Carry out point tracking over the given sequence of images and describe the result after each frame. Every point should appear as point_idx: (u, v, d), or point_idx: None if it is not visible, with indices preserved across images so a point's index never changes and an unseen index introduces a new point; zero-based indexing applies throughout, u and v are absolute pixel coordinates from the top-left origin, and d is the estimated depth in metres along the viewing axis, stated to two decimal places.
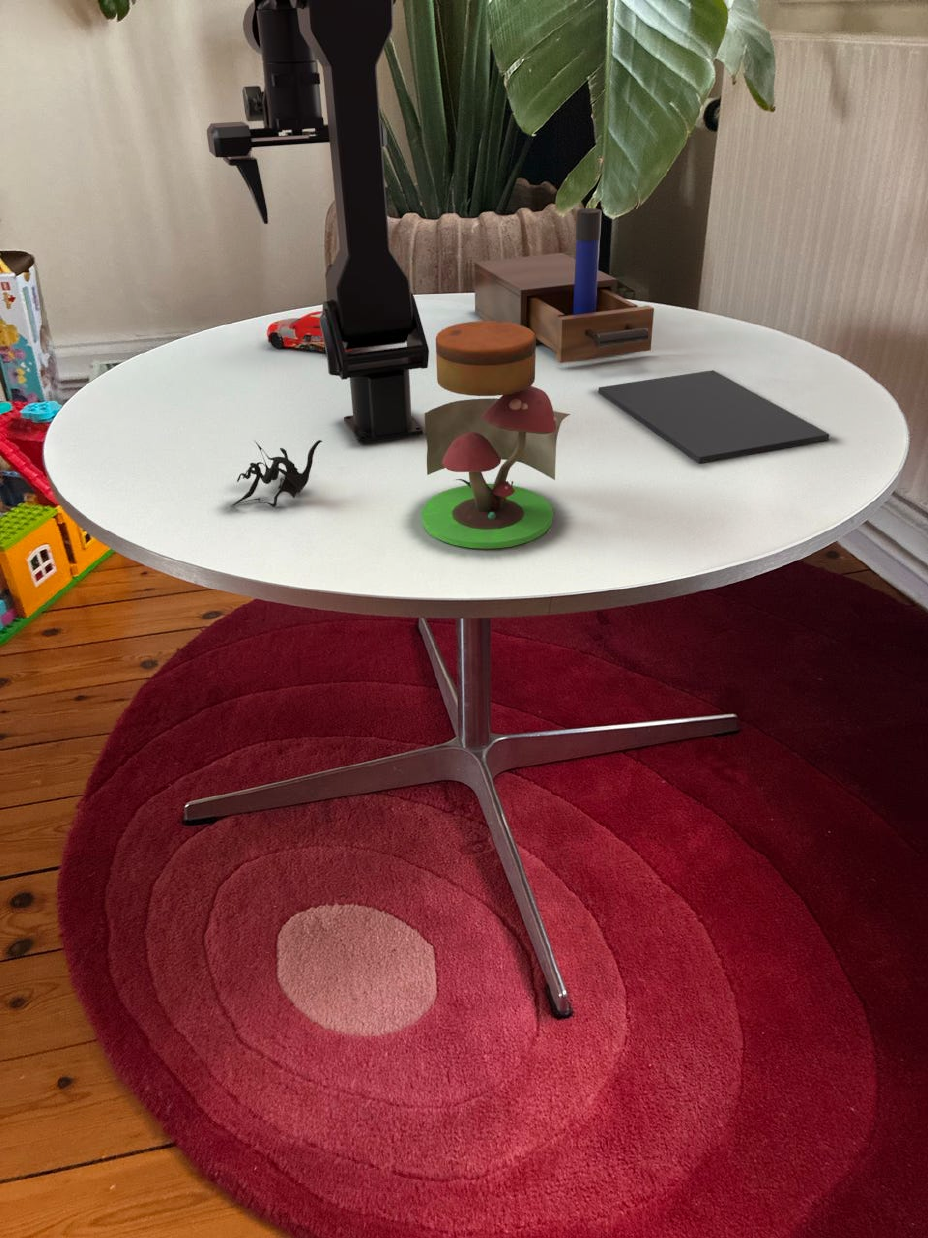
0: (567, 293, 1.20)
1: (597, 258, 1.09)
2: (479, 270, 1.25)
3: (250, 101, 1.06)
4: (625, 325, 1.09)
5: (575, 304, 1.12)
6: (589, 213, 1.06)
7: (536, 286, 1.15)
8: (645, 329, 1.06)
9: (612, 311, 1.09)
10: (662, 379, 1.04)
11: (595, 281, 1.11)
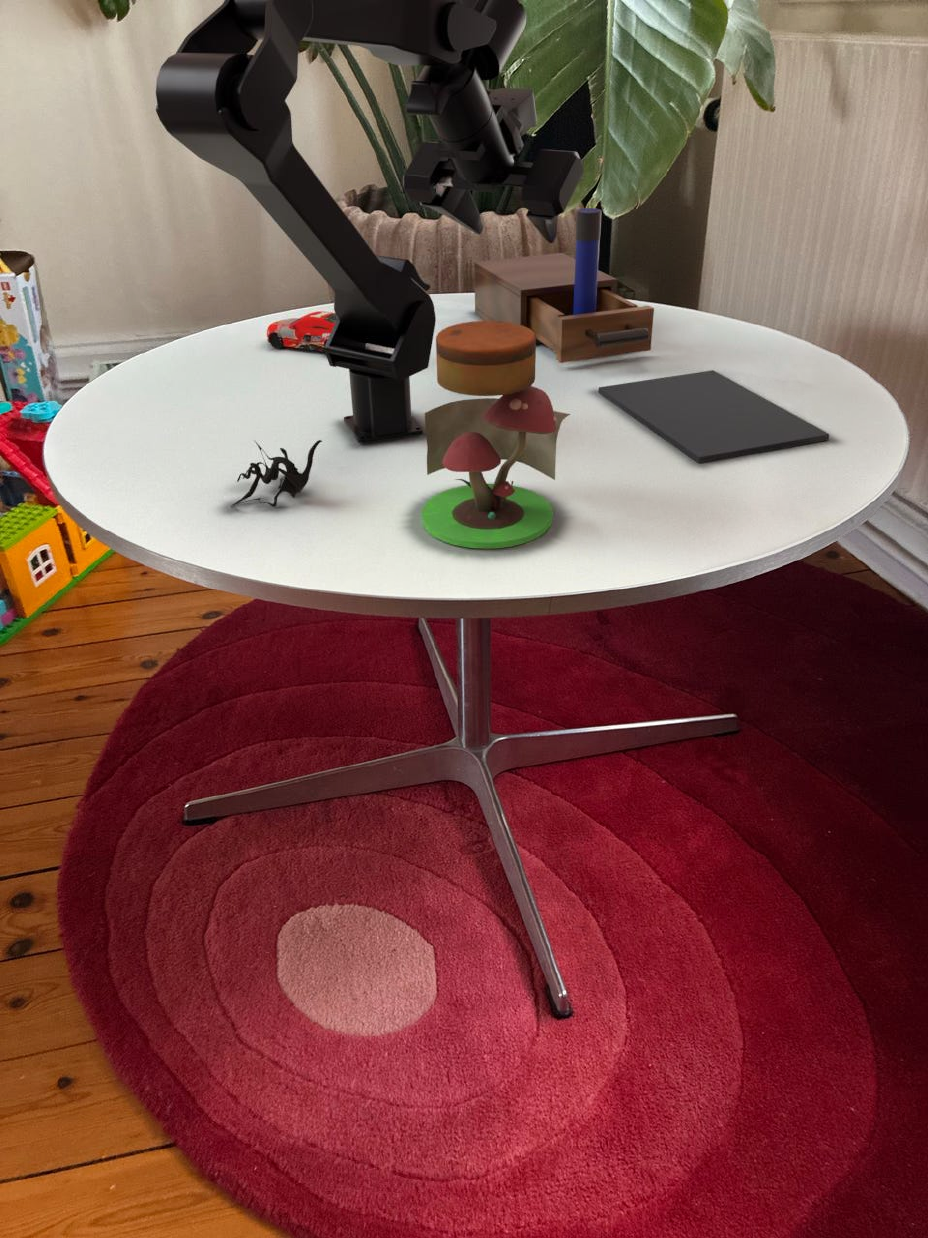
0: (567, 293, 1.20)
1: (597, 258, 1.09)
2: (479, 270, 1.25)
3: None
4: (625, 325, 1.09)
5: (575, 304, 1.12)
6: (589, 213, 1.06)
7: (536, 286, 1.15)
8: (645, 329, 1.06)
9: (612, 311, 1.09)
10: (662, 379, 1.04)
11: (595, 281, 1.11)
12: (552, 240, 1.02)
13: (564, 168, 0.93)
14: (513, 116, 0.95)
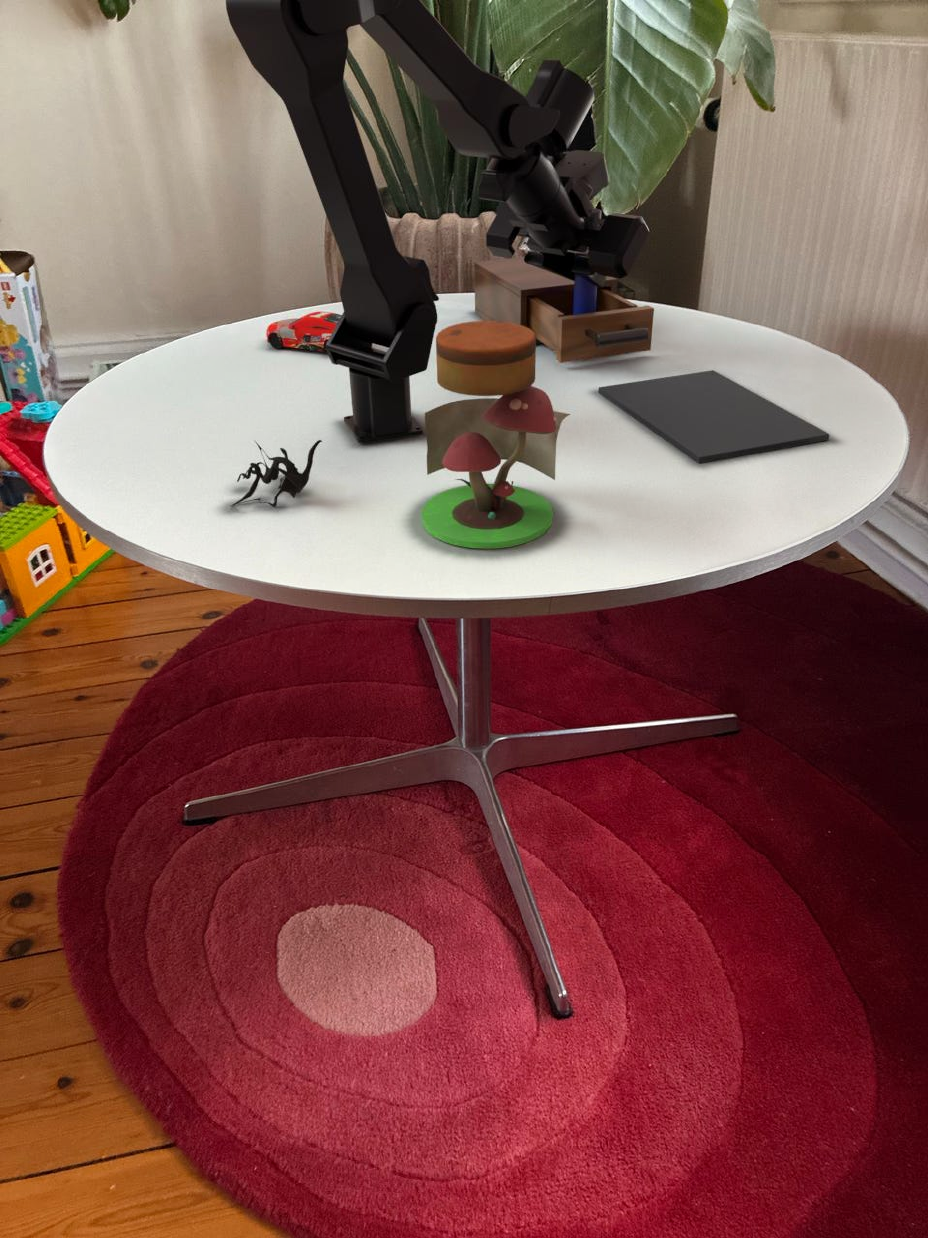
0: (567, 293, 1.20)
1: None
2: (479, 270, 1.25)
3: None
4: (625, 325, 1.09)
5: (575, 304, 1.12)
6: None
7: (536, 286, 1.15)
8: (645, 329, 1.06)
9: (612, 311, 1.09)
10: (662, 379, 1.04)
11: None
12: (601, 285, 1.11)
13: (628, 235, 0.99)
14: (582, 183, 1.01)
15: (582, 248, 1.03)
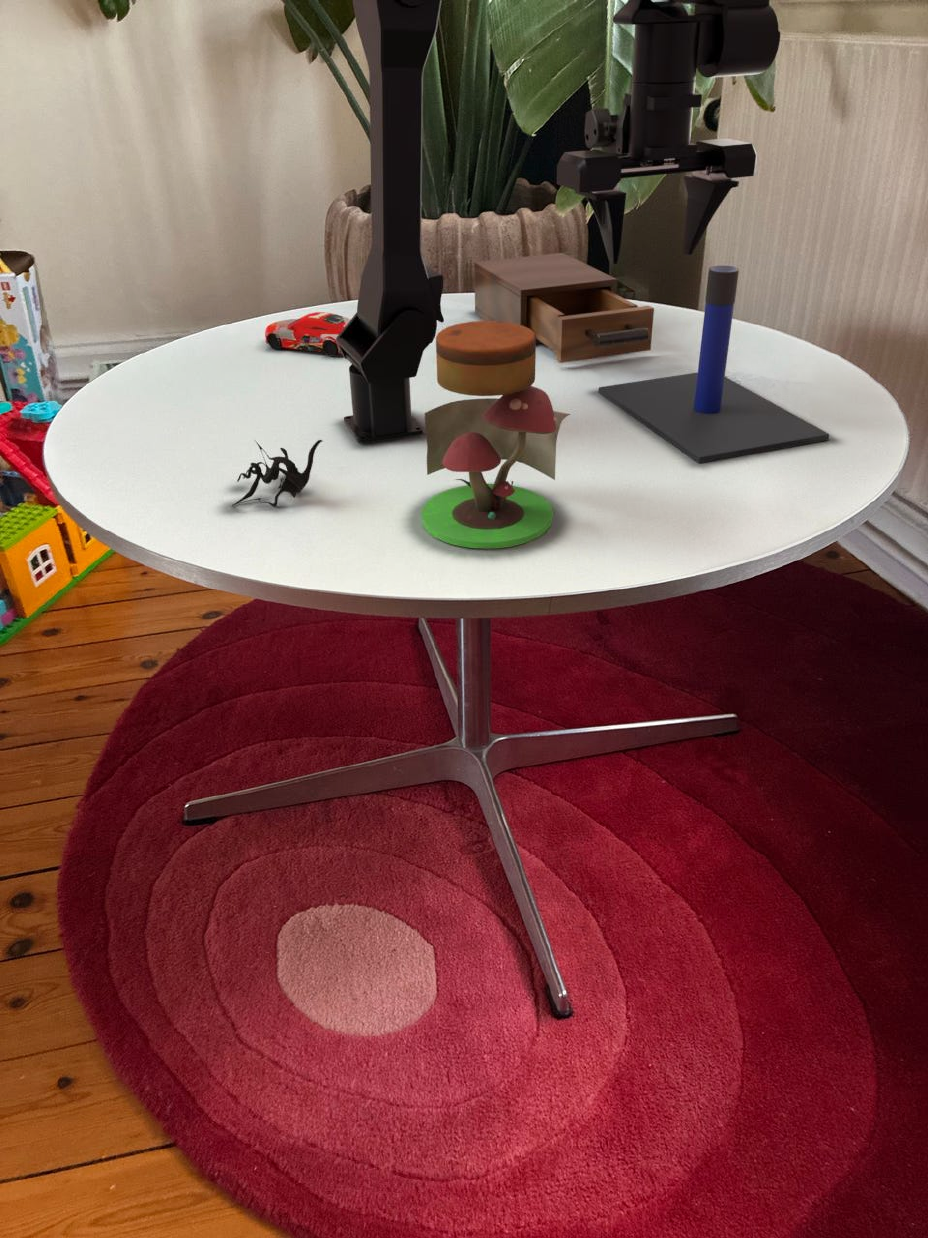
0: (567, 293, 1.20)
1: (723, 326, 0.91)
2: (479, 270, 1.25)
3: (600, 126, 0.93)
4: (625, 325, 1.09)
5: None
6: (715, 272, 0.89)
7: (536, 286, 1.15)
8: (645, 329, 1.06)
9: (612, 311, 1.09)
10: (662, 379, 1.04)
11: (718, 353, 0.92)
12: (693, 249, 0.98)
13: None
14: None
15: None
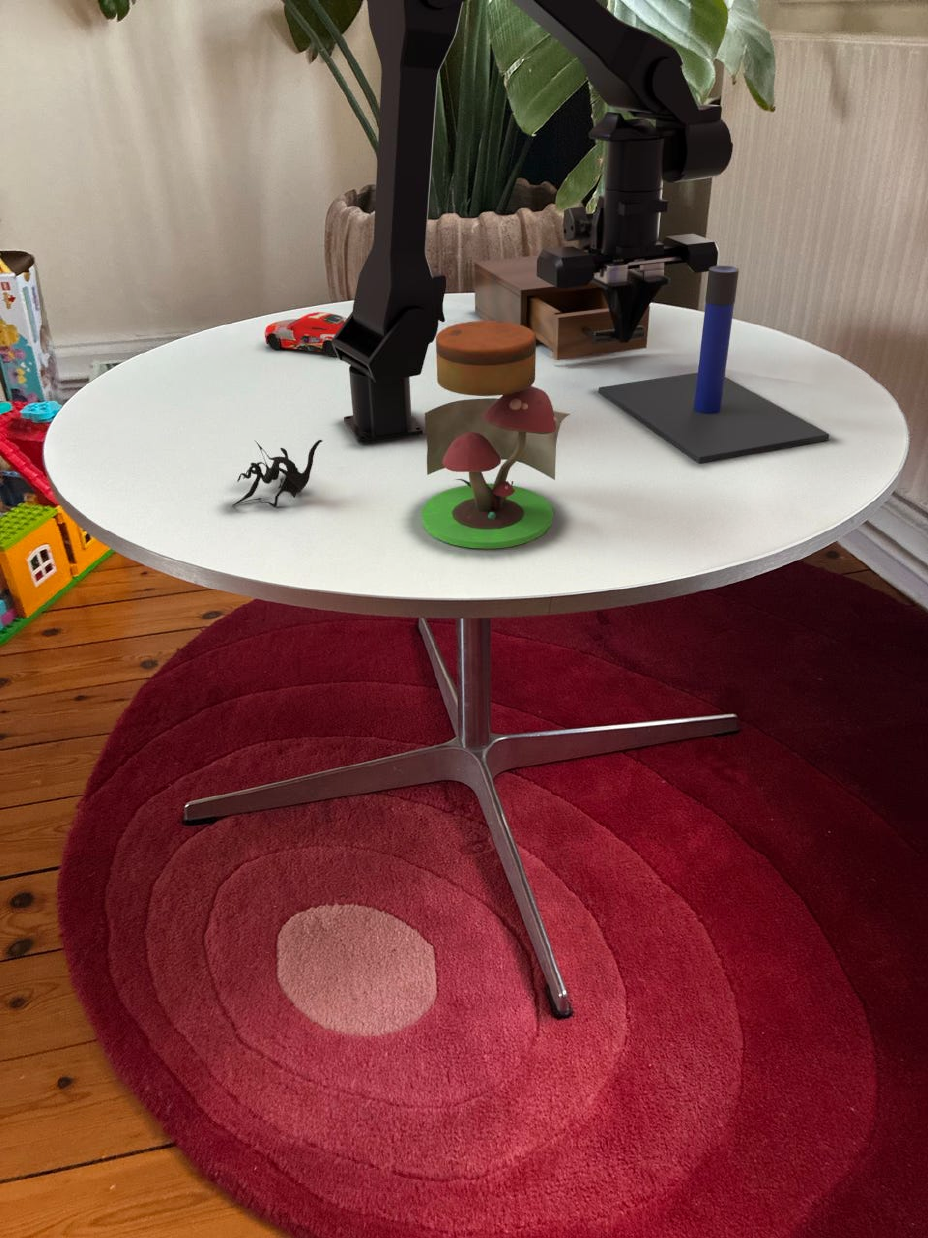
0: None
1: (723, 326, 0.91)
2: (479, 270, 1.25)
3: (576, 223, 1.02)
4: None
5: None
6: (715, 272, 0.89)
7: (536, 286, 1.15)
8: (641, 327, 1.07)
9: (608, 309, 1.09)
10: (662, 379, 1.04)
11: (718, 353, 0.92)
12: (630, 338, 1.05)
13: (703, 238, 1.03)
14: None
15: (654, 258, 1.01)
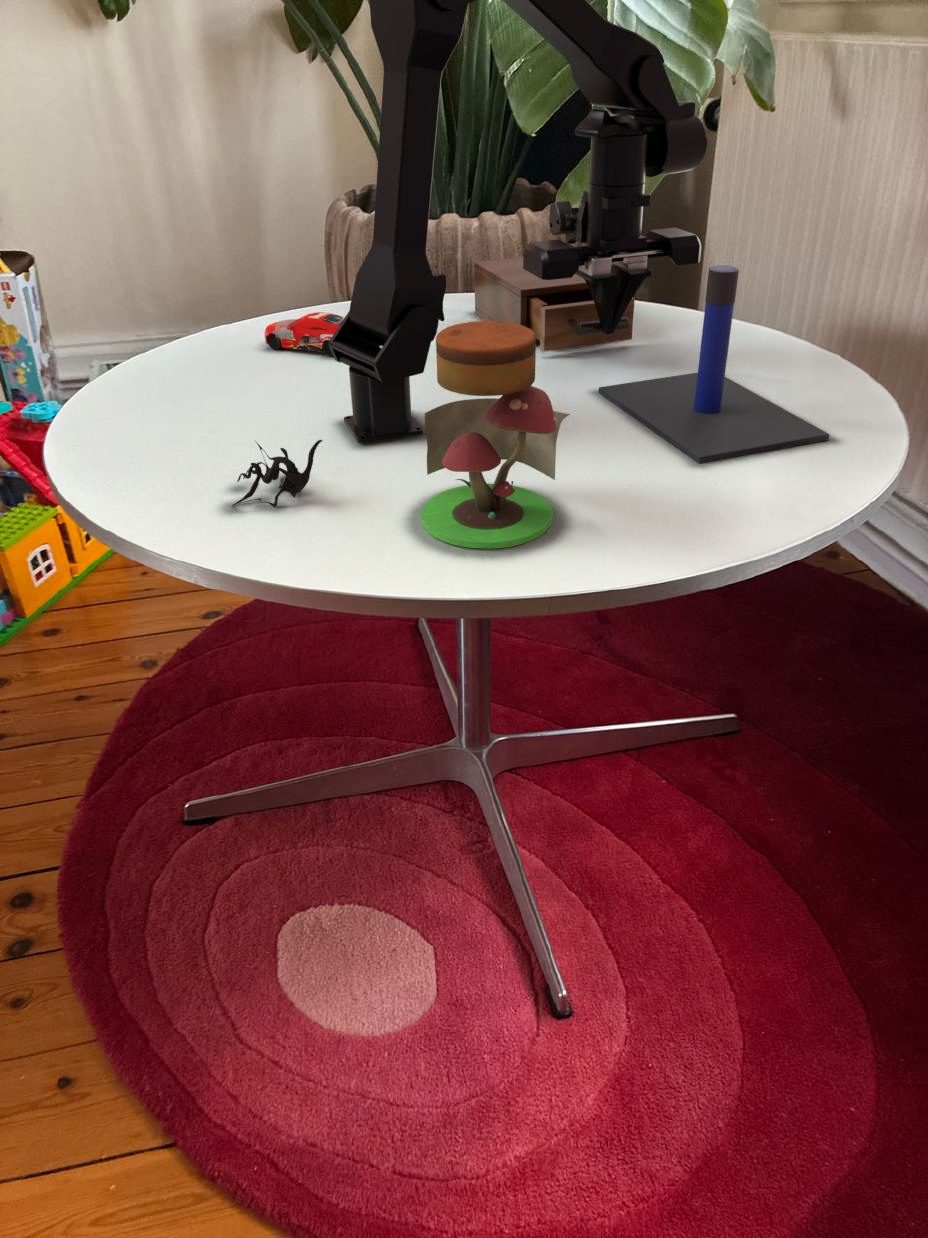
0: None
1: (723, 326, 0.91)
2: (479, 270, 1.25)
3: (562, 217, 1.05)
4: None
5: None
6: (715, 272, 0.89)
7: (536, 286, 1.15)
8: (625, 318, 1.10)
9: None
10: (662, 379, 1.04)
11: (718, 353, 0.92)
12: (614, 329, 1.08)
13: (685, 232, 1.06)
14: None
15: (637, 251, 1.04)
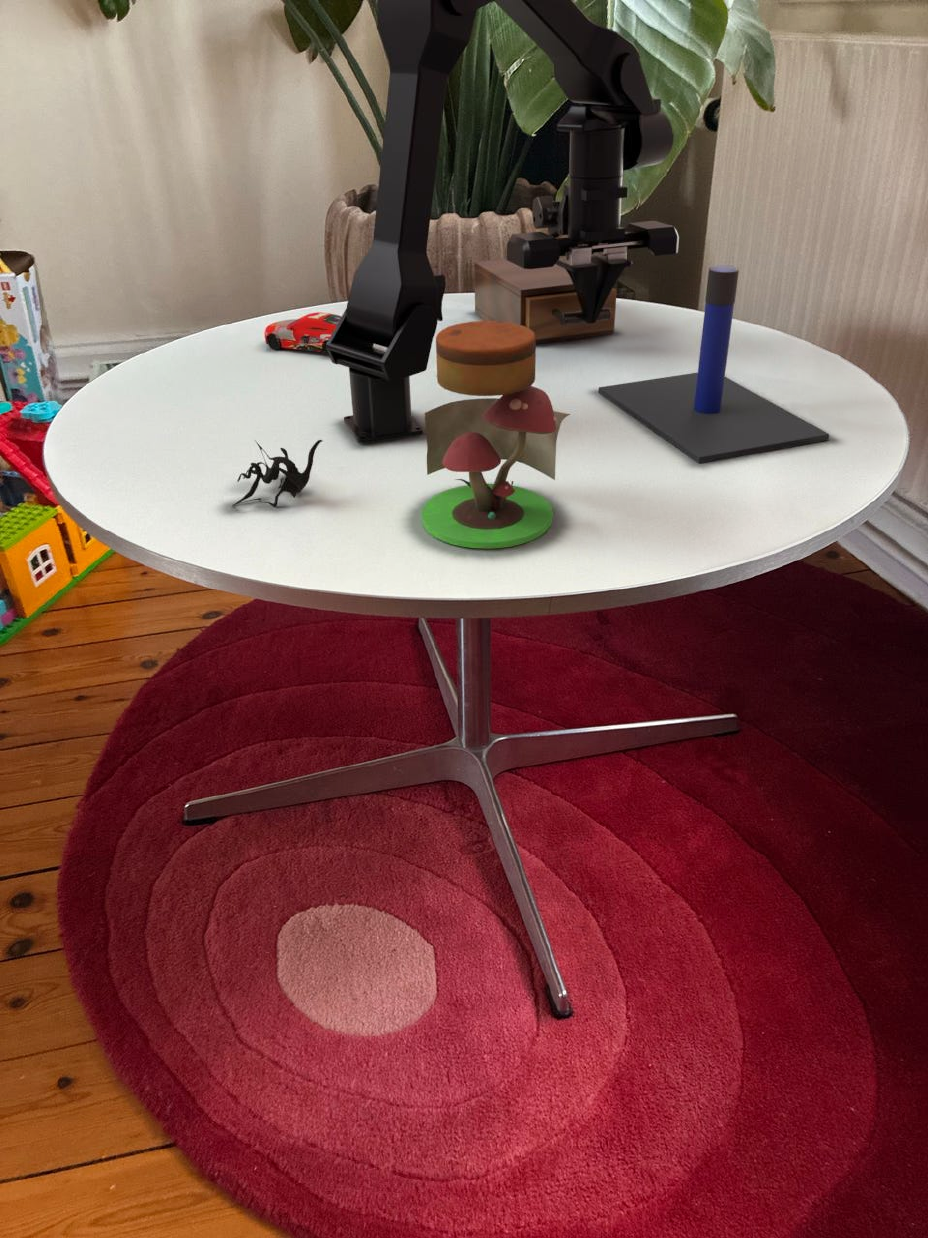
0: None
1: (723, 326, 0.91)
2: (479, 270, 1.25)
3: (544, 211, 1.09)
4: None
5: None
6: (715, 272, 0.89)
7: (536, 286, 1.15)
8: (607, 308, 1.13)
9: None
10: (662, 379, 1.04)
11: (718, 353, 0.92)
12: (596, 318, 1.12)
13: (664, 224, 1.10)
14: None
15: (617, 242, 1.07)
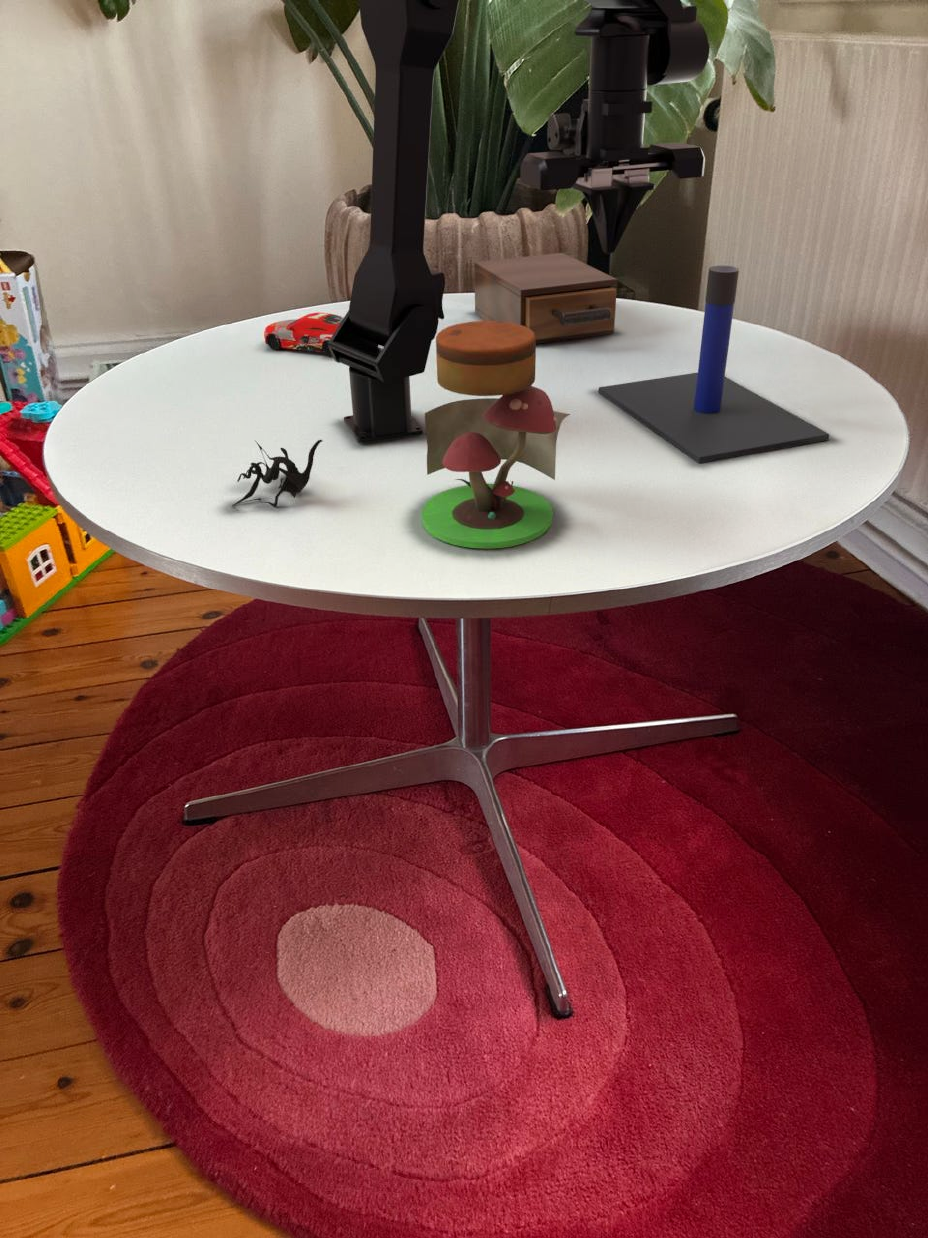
0: None
1: (723, 326, 0.91)
2: (479, 270, 1.25)
3: (561, 129, 1.01)
4: (589, 305, 1.16)
5: None
6: (715, 272, 0.89)
7: (536, 286, 1.15)
8: (607, 308, 1.13)
9: (577, 292, 1.16)
10: (662, 379, 1.04)
11: (718, 353, 0.92)
12: (615, 248, 1.05)
13: None
14: None
15: (639, 163, 1.00)
